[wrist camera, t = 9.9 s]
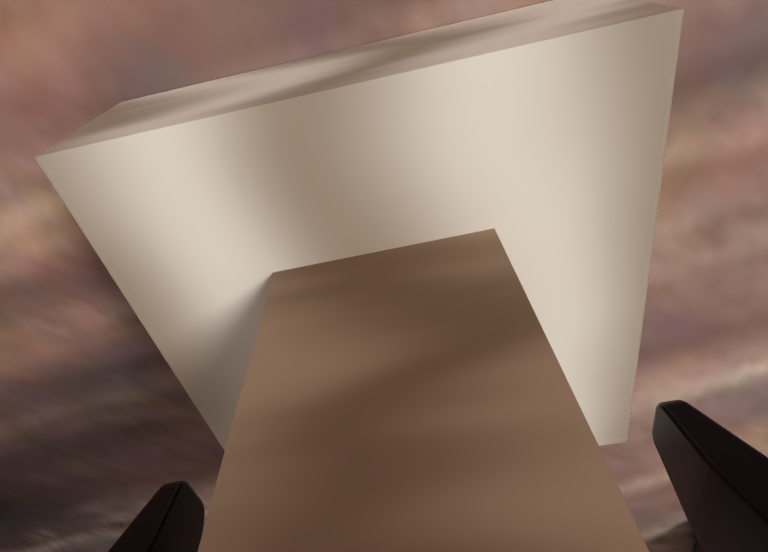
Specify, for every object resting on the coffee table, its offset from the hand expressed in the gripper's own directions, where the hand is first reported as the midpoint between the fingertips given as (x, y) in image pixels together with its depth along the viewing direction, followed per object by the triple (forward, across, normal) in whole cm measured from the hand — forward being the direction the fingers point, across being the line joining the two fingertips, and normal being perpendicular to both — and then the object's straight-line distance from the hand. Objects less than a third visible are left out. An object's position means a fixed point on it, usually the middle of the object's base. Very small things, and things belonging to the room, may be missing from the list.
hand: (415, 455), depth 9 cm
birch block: (+8, 0, 0) cm, 8 cm away
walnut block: (+4, 0, 0) cm, 4 cm away
